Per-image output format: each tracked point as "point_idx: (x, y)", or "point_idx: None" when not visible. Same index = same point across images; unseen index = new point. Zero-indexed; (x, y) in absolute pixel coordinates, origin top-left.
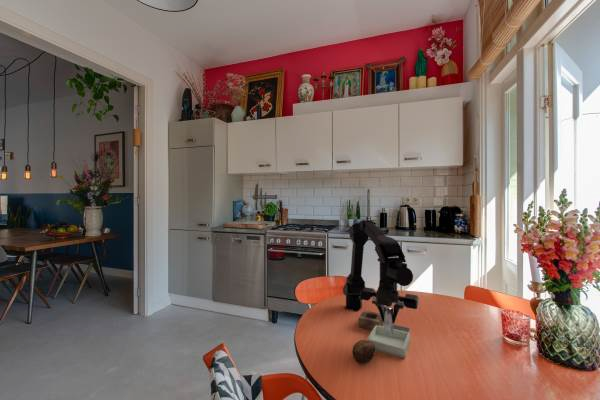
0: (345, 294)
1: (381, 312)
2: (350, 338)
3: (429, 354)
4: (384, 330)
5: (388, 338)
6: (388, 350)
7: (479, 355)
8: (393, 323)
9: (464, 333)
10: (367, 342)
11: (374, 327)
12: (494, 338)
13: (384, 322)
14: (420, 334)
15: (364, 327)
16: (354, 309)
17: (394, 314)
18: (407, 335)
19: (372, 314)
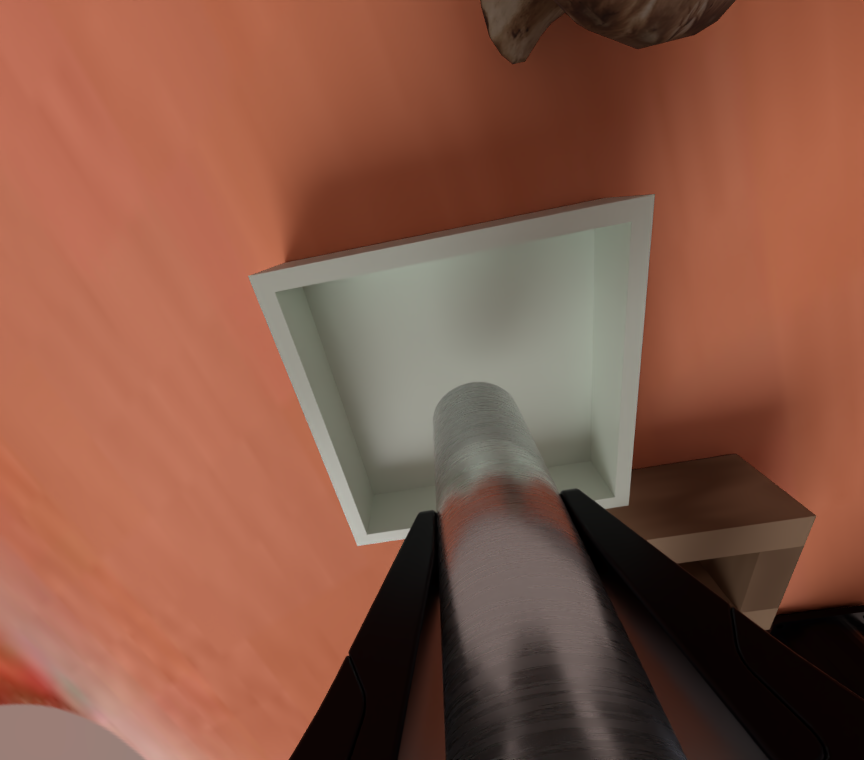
0: None
1: (687, 616)
2: (781, 267)
3: (199, 428)
4: (517, 412)
5: None
6: (409, 239)
7: (30, 567)
8: (424, 511)
9: (204, 684)
10: None
11: (629, 468)
12: (98, 704)
13: (545, 475)
14: (355, 586)
15: (696, 470)
16: (801, 621)
17: (382, 669)
18: (351, 502)
19: None
